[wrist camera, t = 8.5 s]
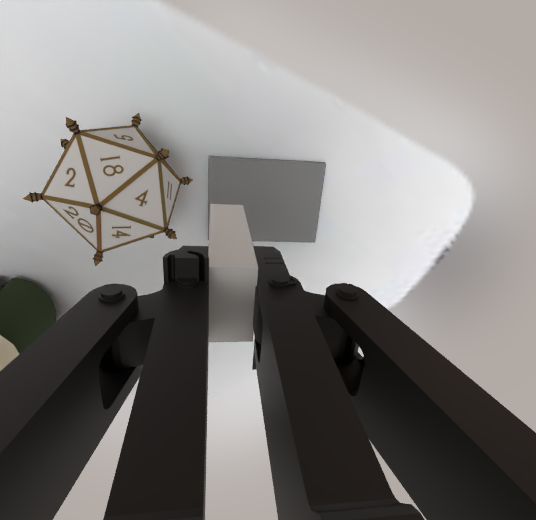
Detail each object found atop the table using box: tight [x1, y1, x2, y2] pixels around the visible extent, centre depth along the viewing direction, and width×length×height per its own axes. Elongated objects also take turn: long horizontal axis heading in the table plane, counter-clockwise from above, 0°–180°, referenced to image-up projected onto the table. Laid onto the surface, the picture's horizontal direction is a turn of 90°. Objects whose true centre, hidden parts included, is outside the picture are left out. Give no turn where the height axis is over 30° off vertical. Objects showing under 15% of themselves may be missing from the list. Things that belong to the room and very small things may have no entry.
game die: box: [23, 113, 192, 266], centre depth 22 cm, size 9×8×10 cm
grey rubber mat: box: [208, 156, 326, 242], centre depth 29 cm, size 9×7×1 cm
